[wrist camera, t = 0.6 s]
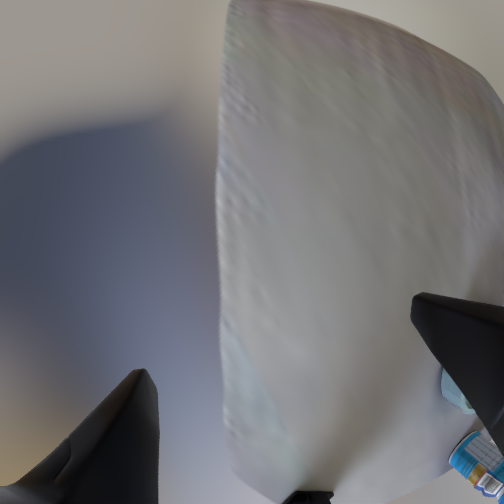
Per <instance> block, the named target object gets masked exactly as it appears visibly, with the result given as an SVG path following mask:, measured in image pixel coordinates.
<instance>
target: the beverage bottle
mask: <svg viewBox="0 0 504 504" xmlns="http://www.w3.org/2000/svg"><path fill="white" fill-rule="evenodd" d="M449 463H450V464H451V465H452V466H453V467H454V468H455V469H456V470H457V471H458V472H460V473H461V474H462V475H463V476H464V477H465V478H466V479H467V480H468V481H469V482H470V483H471V484H472V485H473V486H474V488H475V489H476V490H479V491H482V493H483V495H484V496H486V497H499V498H498V499H497V502H498V503H499V504H504V457H503V456H502V454H501V452H500V451H499V449H498V447H497V446H496V445H494V444H493V443H492V442H490V441H489V440H488V439H486V438H485V437H484V436H482V435H481V434H480V433H479V432H477V431H475V432H472V433H470V434H469V435H468V436H466V437H465V438H464V439H463V440H462V441H461V442H460V443H459V444H458V446H457V447H456V448H455V449H454V451H453V452H452V454H451V456H450V459H449Z"/></svg>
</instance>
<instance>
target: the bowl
mask: <svg viewBox="0 0 504 504" xmlns="http://www.w3.org/2000/svg"><path fill="white" fill-rule="evenodd" d="M441 389H442V395H443V397H444V398H445V399H446V400H447V401H448V402H449V403H451V404H452V405H454V406H455V407H456V408H458V409H459V410H461V411H462V412H464V413H465V414H474V413H476V412H475V411H474V409H473V408H472V406H471V405H470V404H469V402H468V401H467V399H466V398H465V396H464V395H463V394H462V392H461V391H460V389H459V388H458V387H457V385H456V384H455V383H454V381H453V380H452V378H451V377H450V376H449V374H448V373H447V372H446V370H445V369H444V368H443V371H442V379H441Z"/></svg>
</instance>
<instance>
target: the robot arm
mask: <svg viewBox="0 0 504 504" xmlns="http://www.w3.org/2000/svg"><path fill="white" fill-rule="evenodd" d="M411 321H412V323H413V324H414V326H415V327H416V329H417V331H418V332H419V334H420V335H421V337H422V338H423V340H424V341H425V343H426V344H427V346H428V348H429V349H430V351H431V352H432V353H433V355H434V356H435V358H436V359H437V360H438V361H439V363H440V364H441V365H442V367H443V368H444V369H445V370H446V372H447V373H448V374H449V376H450V377H451V378H452V380H453V381H454V383H455V384H456V385H457V387H458V388H459V389H460V391H461V392H462V394H463V395H464V396H465V398H466V399H467V401H468V402H469V404H470V405H471V406H472V408H473V409H474V411H475V412H476V414H477V415H478V417H479V418H480V420H481V421H482V423H483V424H484V426H485V427H486V429H487V431H489V434H490V436H491V437H492V439H493V441H494V442H495V444H496V445H497V447H498V449H499V451H500V452H501V454H502V456H503V457H504V307H502V306H496V305H490V304H485V303H479V302H474V301H468V300H463V299H457V298H452V297H446V296H441V295H436V294H430V293H425V292H422V293H419V294H417V295H415V296H414V297H413V299H412V306H411ZM159 435H160V430H159V412H158V393H157V388H156V386H155V384H154V382H153V381H152V379H151V377H150V375H149V373H148V372H147V370H146V369H137V370H133V371H131V372H130V373H129V375H128V376H127V377H126V378H125V379H124V380H123V381H122V382H121V383H120V384H119V385H118V386H117V387H116V388H115V389H114V390H113V391H112V392H111V393H110V394H109V395H108V396H107V397H106V398H105V399H104V400H103V401H102V402H101V403H100V404H99V405H98V406H97V407H96V408H95V409H94V410H93V411H92V412H91V413H90V414H89V415H88V416H87V418H85V419H84V420H83V421H82V422H81V423H80V425H79V426H77V427H76V428H75V430H74V431H73V432H72V433H71V434H70V435H69V436H68V438H66V439H65V440H64V441H63V442H62V443H61V444H60V445H59V446H58V447H57V448H56V449H55V450H54V451H53V452H52V453H51V454H50V455H48V456H47V457H46V458H45V459H44V460H43V461H41V462H40V463H39V464H38V465H37V466H35V467H34V468H33V469H32V470H31V471H29V472H28V473H27V474H26V475H25V476H23V477H22V478H21V479H20V480H18V481H17V482H15V483H13V484H11V485H8V486H0V504H158V465H159V438H160V437H159ZM333 496H334V493H333V492H307V491H297V492H295V493H294V494H293V495H292V496H291V497H290V498H289V499H288V500H287V501H286V502H285V503H284V504H331V503H330V499H331V498H332V497H333Z"/></svg>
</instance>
